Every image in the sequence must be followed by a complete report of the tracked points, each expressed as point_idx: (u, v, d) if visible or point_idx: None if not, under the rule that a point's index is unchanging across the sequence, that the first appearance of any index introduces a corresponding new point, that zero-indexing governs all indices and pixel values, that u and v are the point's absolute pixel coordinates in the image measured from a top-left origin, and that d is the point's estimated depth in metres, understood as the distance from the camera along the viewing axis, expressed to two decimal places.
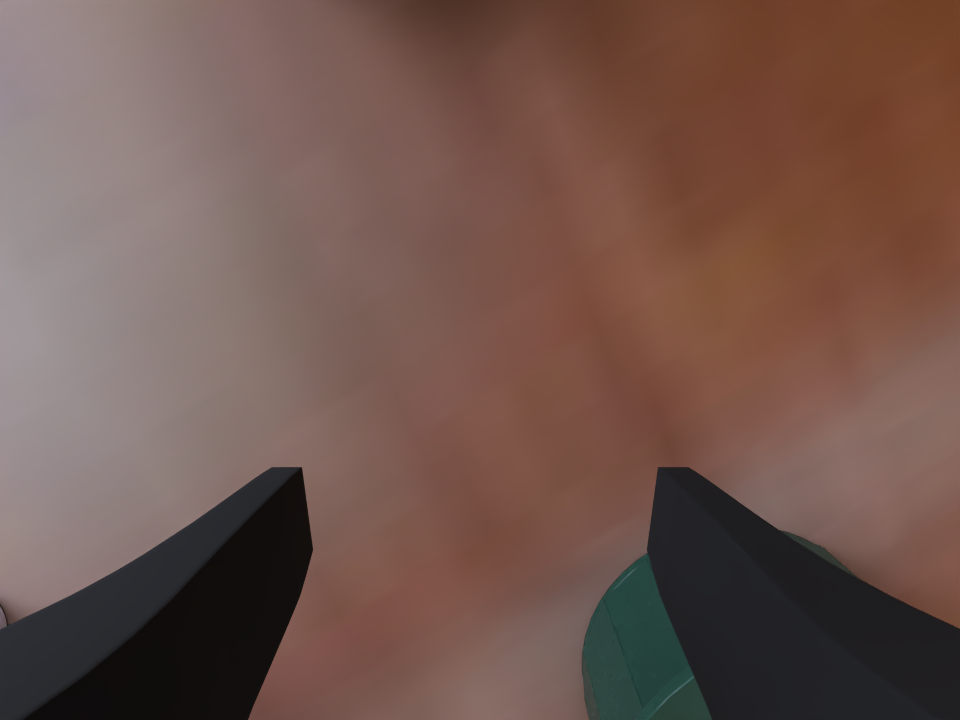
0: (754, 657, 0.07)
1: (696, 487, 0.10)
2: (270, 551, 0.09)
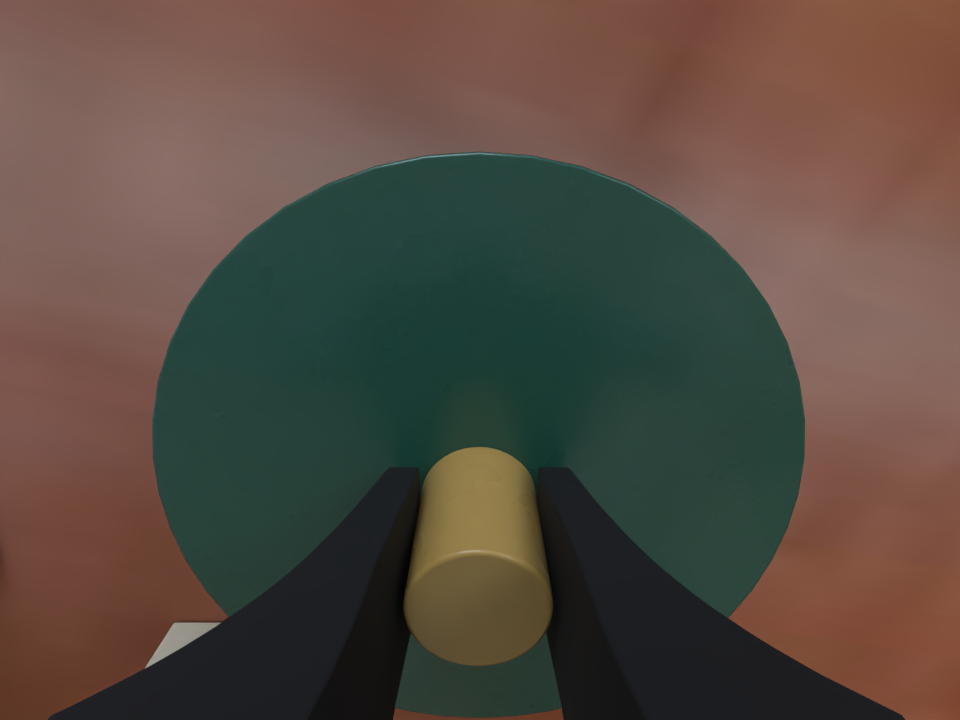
0: (580, 657, 0.07)
1: (563, 487, 0.10)
2: (405, 551, 0.09)
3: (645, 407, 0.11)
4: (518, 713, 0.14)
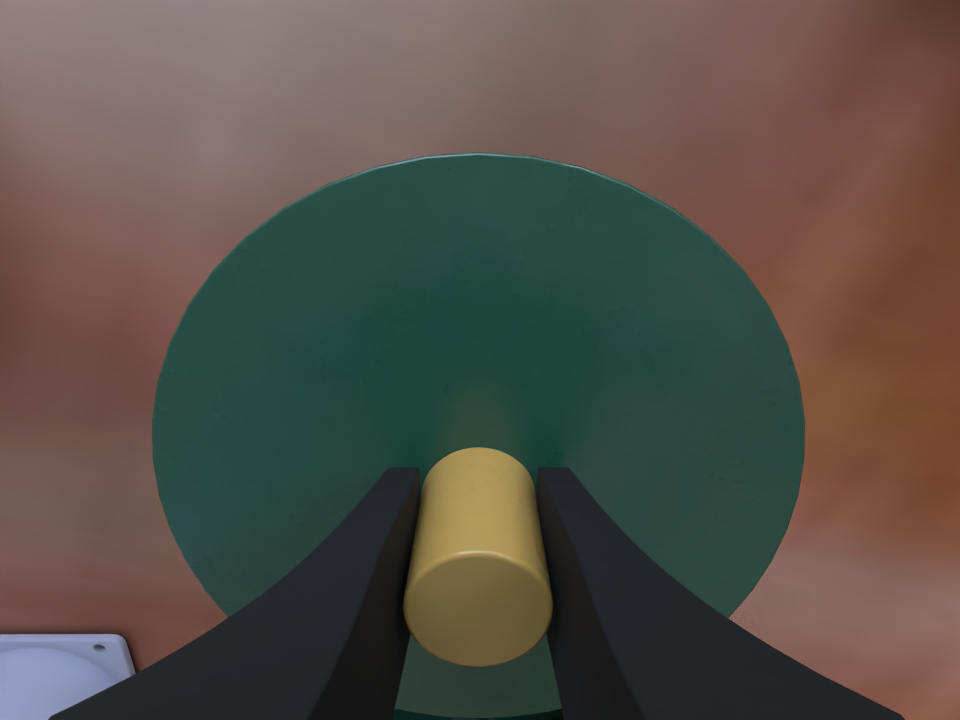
0: (580, 657, 0.07)
1: (563, 487, 0.10)
2: (405, 551, 0.09)
3: (645, 407, 0.11)
4: (518, 714, 0.14)
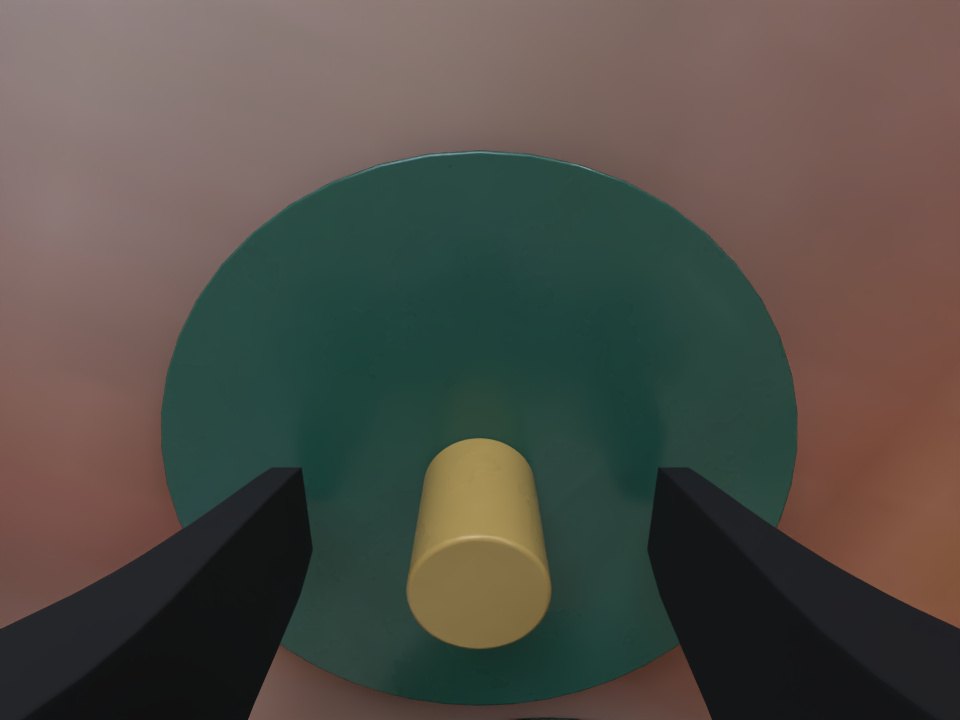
0: (754, 657, 0.07)
1: (697, 487, 0.10)
2: (270, 551, 0.09)
3: (641, 399, 0.11)
4: (518, 702, 0.15)
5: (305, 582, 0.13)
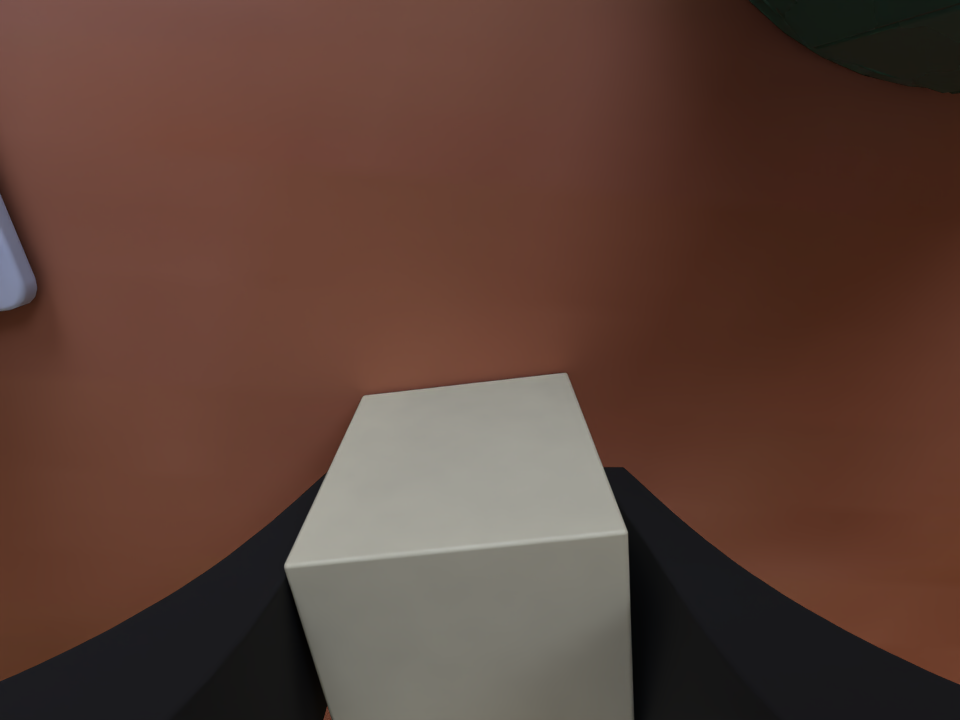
0: (659, 657, 0.07)
1: (624, 487, 0.10)
2: None
3: None
4: None
5: None
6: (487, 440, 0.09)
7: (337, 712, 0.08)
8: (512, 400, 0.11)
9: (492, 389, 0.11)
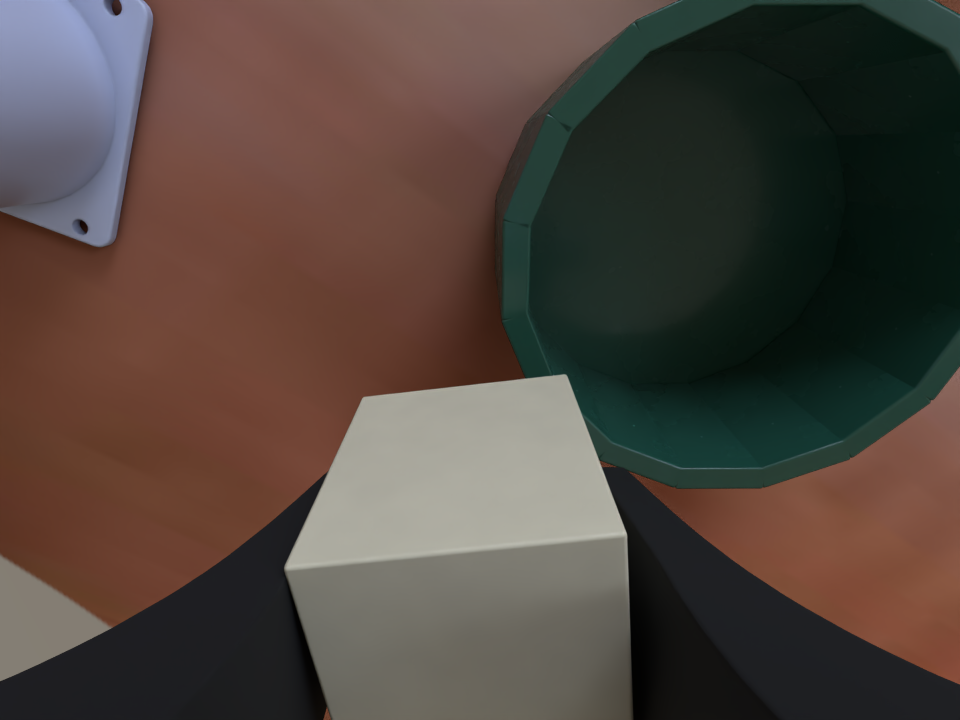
0: (660, 657, 0.07)
1: (624, 487, 0.10)
2: None
3: None
4: None
5: None
6: (486, 441, 0.09)
7: (337, 714, 0.08)
8: (512, 402, 0.11)
9: (492, 391, 0.11)
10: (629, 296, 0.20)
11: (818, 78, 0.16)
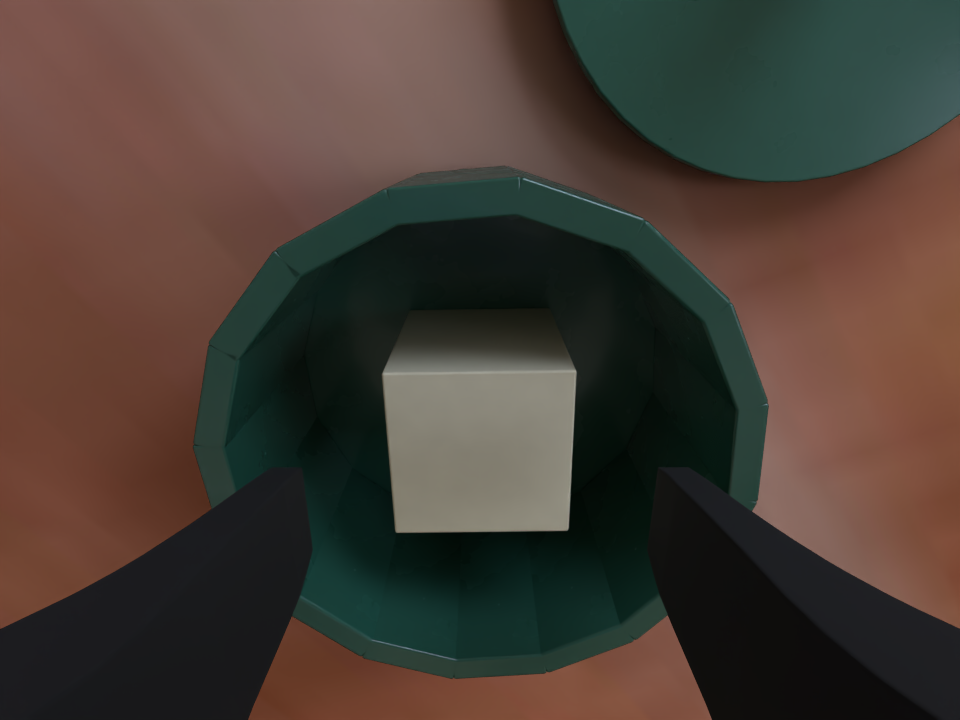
0: (754, 657, 0.07)
1: (696, 487, 0.10)
2: (270, 551, 0.09)
3: None
4: (651, 143, 0.15)
5: None
6: (496, 333, 0.15)
7: (395, 475, 0.13)
8: (512, 318, 0.16)
9: (499, 312, 0.17)
10: None
11: (638, 274, 0.16)
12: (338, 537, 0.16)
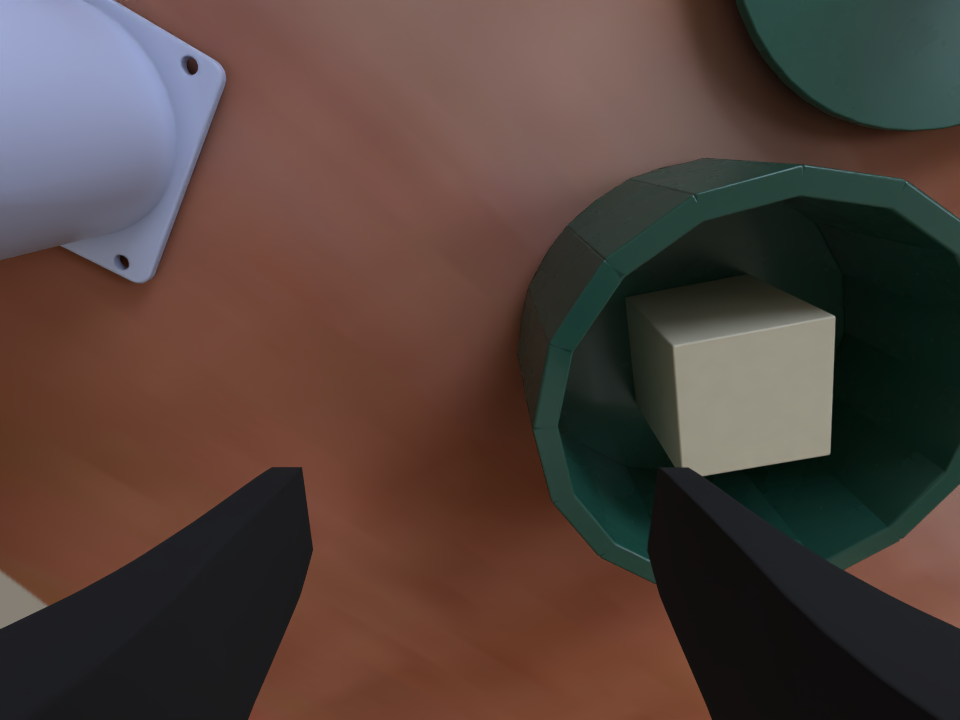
0: (754, 657, 0.07)
1: (697, 487, 0.10)
2: (270, 551, 0.09)
3: None
4: (836, 114, 0.17)
5: None
6: (729, 301, 0.17)
7: (683, 430, 0.16)
8: (726, 287, 0.19)
9: (708, 285, 0.19)
10: None
11: (836, 229, 0.18)
12: (607, 497, 0.19)
